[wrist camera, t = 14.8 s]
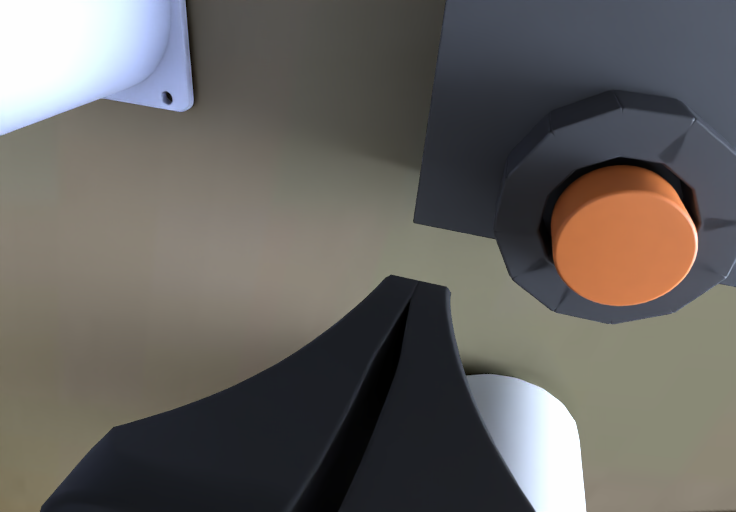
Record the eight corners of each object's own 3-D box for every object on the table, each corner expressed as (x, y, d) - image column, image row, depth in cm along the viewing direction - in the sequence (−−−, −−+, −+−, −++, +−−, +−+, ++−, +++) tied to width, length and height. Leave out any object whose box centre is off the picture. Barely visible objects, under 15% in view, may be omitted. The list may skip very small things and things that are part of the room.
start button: (537, 258, 16) (538, 292, 14) (569, 153, 14) (573, 178, 12) (655, 282, 15) (668, 319, 14) (702, 176, 13) (723, 205, 12)
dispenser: (428, 200, 22) (397, 279, 17) (470, -61, 17) (444, -60, 12) (724, 256, 20) (788, 364, 15) (865, -20, 15) (1031, 2, 10)
